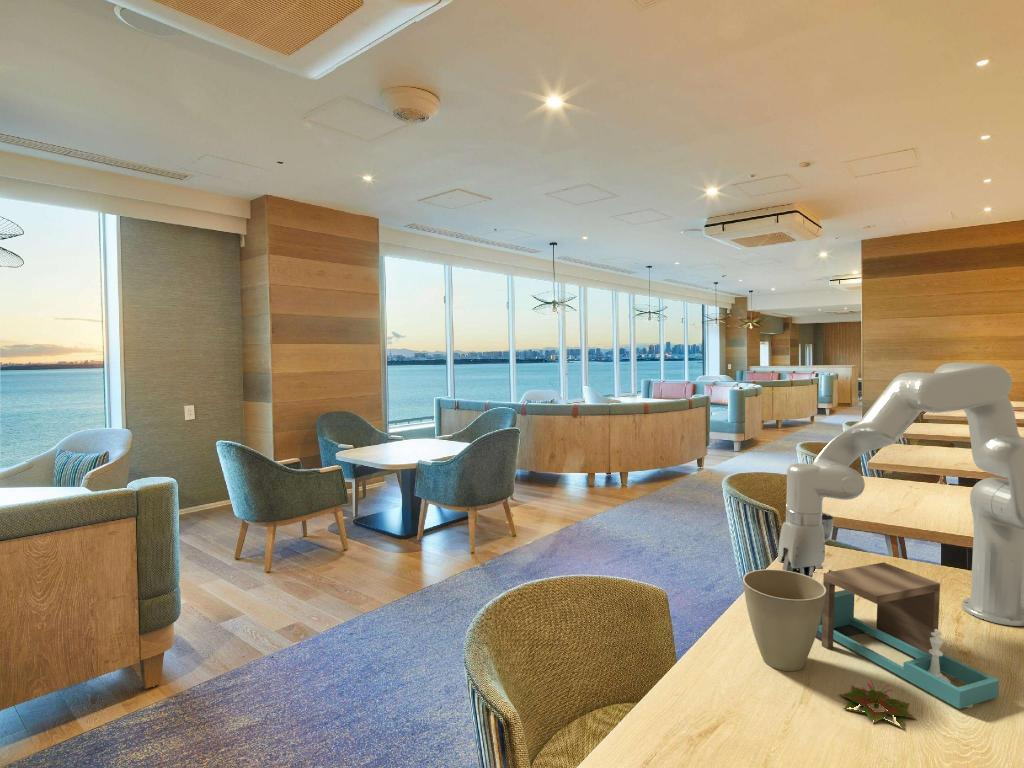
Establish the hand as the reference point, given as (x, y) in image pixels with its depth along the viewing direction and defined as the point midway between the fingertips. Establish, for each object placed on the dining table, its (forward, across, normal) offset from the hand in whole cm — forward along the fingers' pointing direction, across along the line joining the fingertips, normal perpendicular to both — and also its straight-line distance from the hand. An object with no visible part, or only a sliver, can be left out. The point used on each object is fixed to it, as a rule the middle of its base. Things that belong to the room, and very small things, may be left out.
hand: (801, 594), depth 138 cm
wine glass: (+4, -25, -19) cm, 32 cm away
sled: (+4, 0, +23) cm, 23 cm away
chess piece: (+4, 0, +31) cm, 31 cm away
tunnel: (+4, 0, +14) cm, 15 cm away
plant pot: (+4, +21, +16) cm, 26 cm away
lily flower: (+5, +17, +33) cm, 37 cm away
